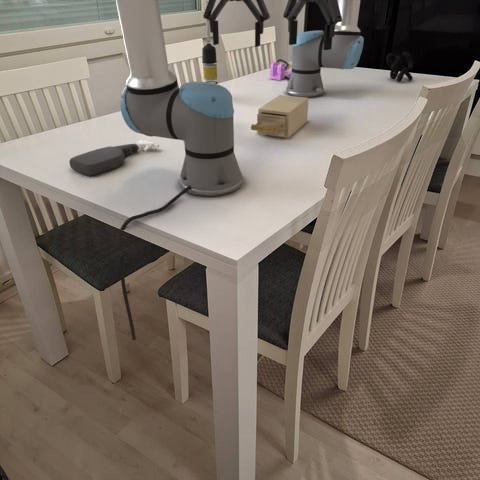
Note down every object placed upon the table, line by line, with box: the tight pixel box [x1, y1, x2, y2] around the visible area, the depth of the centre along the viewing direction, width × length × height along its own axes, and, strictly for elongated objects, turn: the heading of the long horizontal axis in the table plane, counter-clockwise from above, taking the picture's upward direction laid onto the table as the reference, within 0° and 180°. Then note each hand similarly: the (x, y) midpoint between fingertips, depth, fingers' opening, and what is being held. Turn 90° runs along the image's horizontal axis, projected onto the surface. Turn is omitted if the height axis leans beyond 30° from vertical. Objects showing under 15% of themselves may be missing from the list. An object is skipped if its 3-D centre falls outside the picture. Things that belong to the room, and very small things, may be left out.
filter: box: [201, 19, 219, 84], centre depth 171 cm, size 6×6×30 cm
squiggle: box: [385, 51, 414, 83], centre depth 198 cm, size 11×10×15 cm
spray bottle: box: [68, 139, 160, 177], centre depth 124 cm, size 3×11×24 cm
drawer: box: [250, 113, 286, 138], centre depth 140 cm, size 23×9×6 cm, turn 154°
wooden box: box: [257, 94, 309, 139], centre depth 144 cm, size 18×10×8 cm, turn 154°
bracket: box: [269, 61, 292, 81], centre depth 208 cm, size 13×6×7 cm, turn 143°
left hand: (236, 45), depth 136 cm, fingers open, 13 cm apart
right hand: (309, 47), depth 133 cm, fingers open, 13 cm apart
